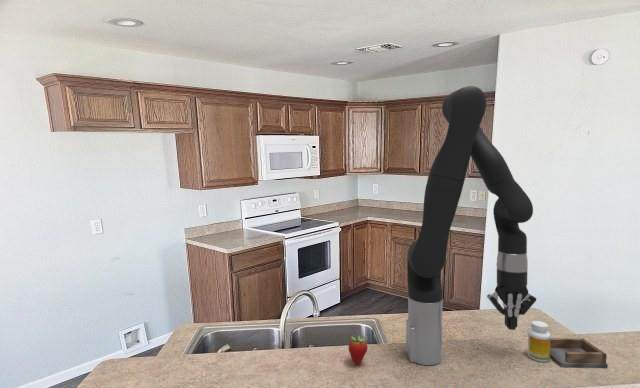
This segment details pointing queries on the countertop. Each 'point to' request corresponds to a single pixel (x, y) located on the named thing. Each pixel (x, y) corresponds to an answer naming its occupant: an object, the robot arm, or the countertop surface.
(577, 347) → the u rest
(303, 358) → the countertop surface
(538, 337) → the supplement bottle
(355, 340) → the fruit
